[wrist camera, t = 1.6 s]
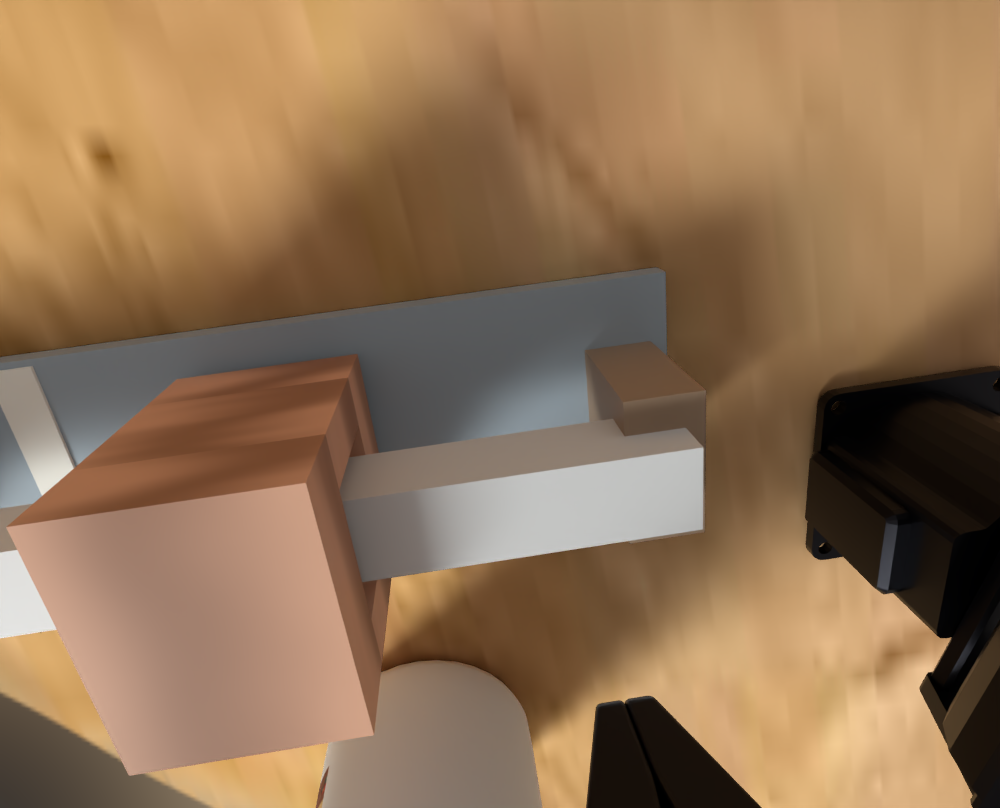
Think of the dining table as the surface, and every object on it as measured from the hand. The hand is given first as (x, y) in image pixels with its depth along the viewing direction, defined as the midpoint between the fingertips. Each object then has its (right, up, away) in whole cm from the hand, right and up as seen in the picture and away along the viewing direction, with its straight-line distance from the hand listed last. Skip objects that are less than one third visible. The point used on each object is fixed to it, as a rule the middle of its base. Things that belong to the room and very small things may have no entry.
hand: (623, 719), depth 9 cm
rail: (-9, +3, +11) cm, 14 cm away
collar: (-8, +3, +9) cm, 13 cm away
